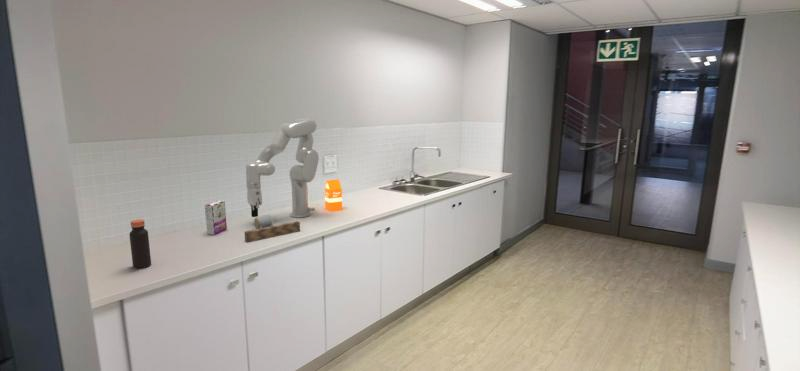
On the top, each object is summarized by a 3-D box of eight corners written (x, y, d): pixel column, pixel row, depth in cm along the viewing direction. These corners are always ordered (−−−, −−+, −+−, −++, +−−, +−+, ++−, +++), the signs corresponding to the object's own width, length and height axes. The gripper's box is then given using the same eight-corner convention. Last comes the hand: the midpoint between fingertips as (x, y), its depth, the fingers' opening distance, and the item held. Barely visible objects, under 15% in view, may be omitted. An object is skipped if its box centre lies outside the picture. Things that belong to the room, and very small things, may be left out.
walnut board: (297, 229, 240) (297, 221, 239) (300, 230, 238) (299, 222, 237) (245, 241, 220) (244, 231, 219) (247, 242, 218) (246, 232, 217)
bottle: (142, 262, 189) (138, 218, 186) (155, 264, 188) (150, 219, 184) (129, 267, 183) (124, 222, 179) (141, 269, 181) (136, 223, 177)
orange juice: (342, 210, 285) (341, 180, 281) (330, 211, 280) (329, 181, 276) (336, 207, 291) (336, 178, 287) (324, 209, 286) (324, 179, 282)
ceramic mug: (253, 228, 241) (253, 215, 240) (268, 225, 246) (267, 213, 245) (260, 233, 233) (260, 219, 232) (275, 230, 238) (274, 217, 237)
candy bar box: (219, 228, 240) (217, 200, 237) (227, 229, 239) (225, 200, 236) (206, 234, 229) (204, 204, 226) (214, 235, 228) (212, 205, 225)
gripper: (265, 186, 241) (266, 218, 245) (254, 182, 252) (255, 213, 255) (252, 187, 236) (254, 220, 240) (241, 183, 247) (243, 215, 250)
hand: (254, 216), depth 248 cm, fingers closed
